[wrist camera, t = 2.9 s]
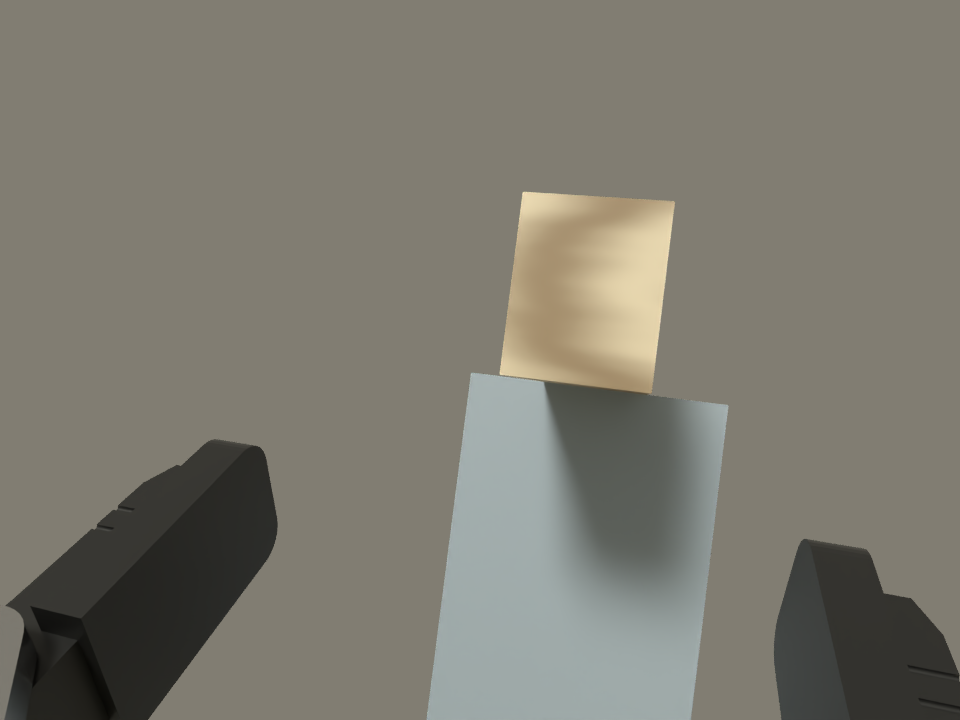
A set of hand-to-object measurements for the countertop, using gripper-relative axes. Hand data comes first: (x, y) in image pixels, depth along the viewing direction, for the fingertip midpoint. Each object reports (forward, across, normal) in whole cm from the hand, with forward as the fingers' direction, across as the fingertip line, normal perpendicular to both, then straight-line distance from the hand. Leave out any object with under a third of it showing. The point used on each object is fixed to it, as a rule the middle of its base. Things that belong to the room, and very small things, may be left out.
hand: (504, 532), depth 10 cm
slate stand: (+5, 0, +37) cm, 37 cm away
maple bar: (+18, 0, +8) cm, 20 cm away
